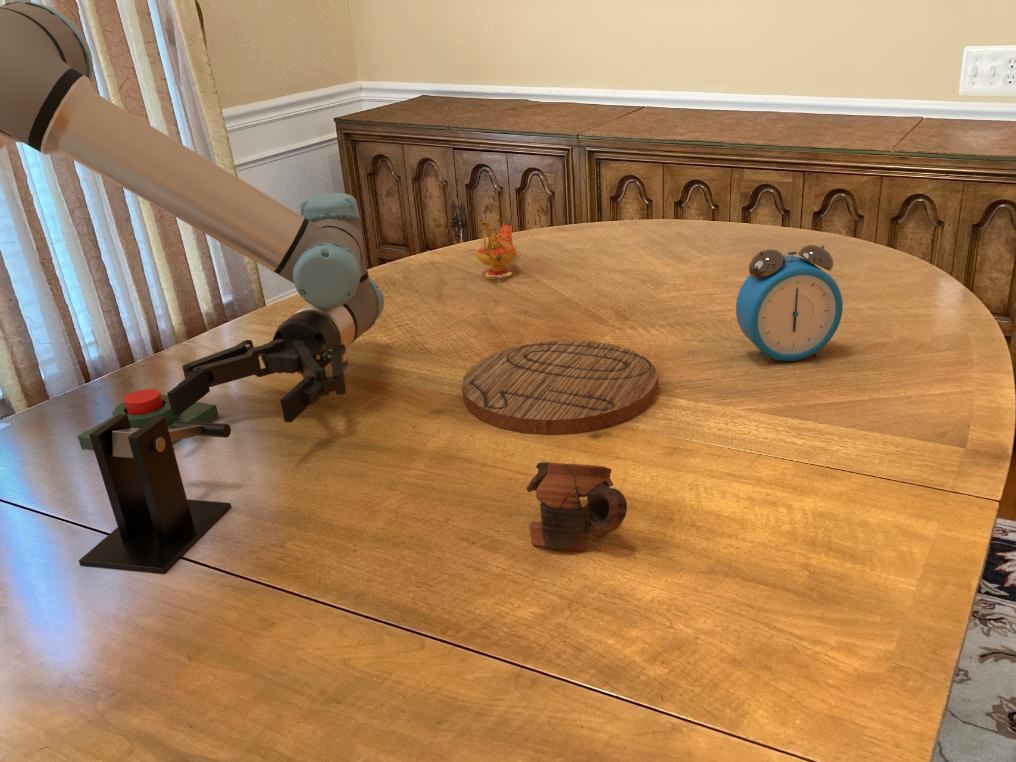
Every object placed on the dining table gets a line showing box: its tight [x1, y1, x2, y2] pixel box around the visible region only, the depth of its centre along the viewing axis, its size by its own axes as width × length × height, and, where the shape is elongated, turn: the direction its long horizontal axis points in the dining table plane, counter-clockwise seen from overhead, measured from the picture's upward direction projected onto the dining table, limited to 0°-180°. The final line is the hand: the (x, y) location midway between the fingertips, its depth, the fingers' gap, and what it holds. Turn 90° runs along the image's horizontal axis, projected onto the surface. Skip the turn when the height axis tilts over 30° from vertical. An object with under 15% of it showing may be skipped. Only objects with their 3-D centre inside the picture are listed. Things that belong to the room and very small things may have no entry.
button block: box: [77, 393, 220, 451], centre depth 117 cm, size 10×12×4 cm
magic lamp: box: [476, 220, 517, 280], centre depth 169 cm, size 7×18×11 cm, turn 171°
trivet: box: [461, 339, 659, 436], centre depth 126 cm, size 25×25×2 cm
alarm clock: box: [735, 244, 844, 365], centre depth 130 cm, size 13×6×15 cm, turn 103°
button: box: [123, 388, 164, 415], centre depth 116 cm, size 4×4×2 cm
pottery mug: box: [526, 461, 628, 552], centre depth 95 cm, size 12×10×8 cm
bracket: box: [78, 414, 232, 575], centre depth 94 cm, size 12×9×13 cm
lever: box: [112, 421, 232, 458], centre depth 97 cm, size 13×6×2 cm, turn 169°
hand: (228, 407), depth 107 cm, fingers open, 13 cm apart
